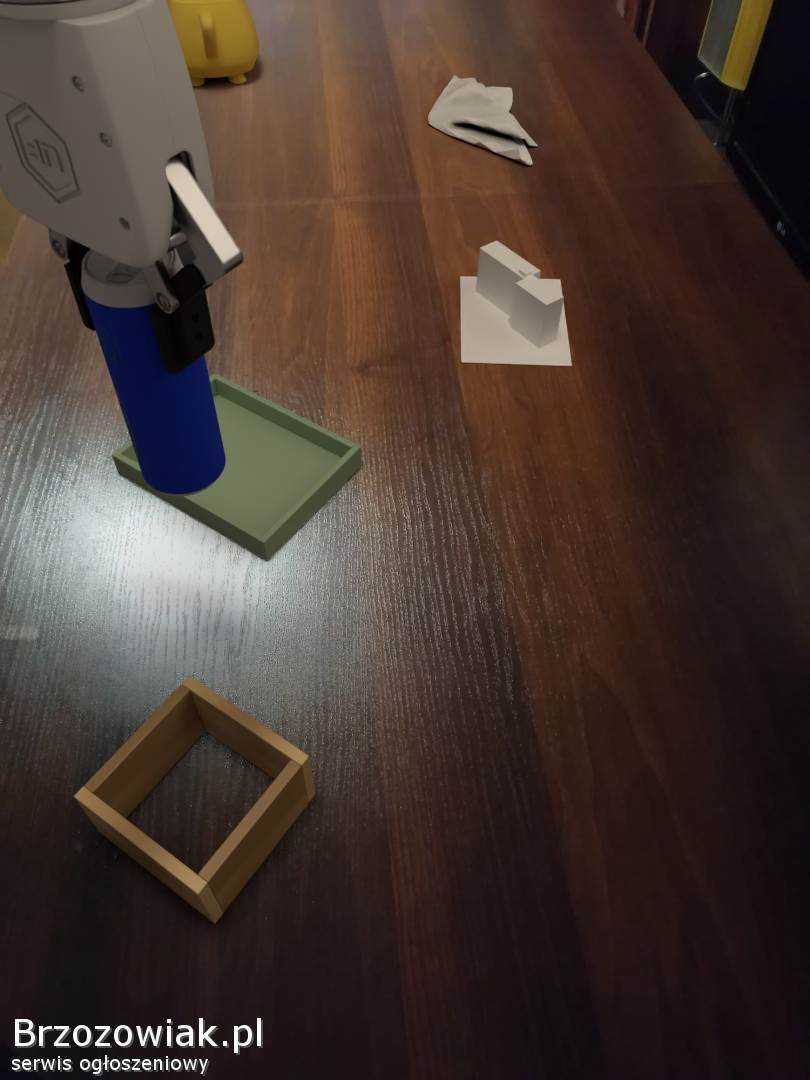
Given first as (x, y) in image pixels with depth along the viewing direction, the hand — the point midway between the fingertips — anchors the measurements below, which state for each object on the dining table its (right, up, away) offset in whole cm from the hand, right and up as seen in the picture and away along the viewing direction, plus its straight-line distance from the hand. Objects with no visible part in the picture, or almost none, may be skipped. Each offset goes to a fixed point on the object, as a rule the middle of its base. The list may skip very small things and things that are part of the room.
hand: (149, 334), depth 46 cm
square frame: (+1, -29, +12) cm, 31 cm away
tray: (-1, -5, +31) cm, 32 cm away
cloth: (+24, +47, +73) cm, 90 cm away
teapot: (-15, +59, +83) cm, 102 cm away
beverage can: (0, -7, +8) cm, 11 cm away
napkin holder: (+25, +12, +46) cm, 54 cm away
